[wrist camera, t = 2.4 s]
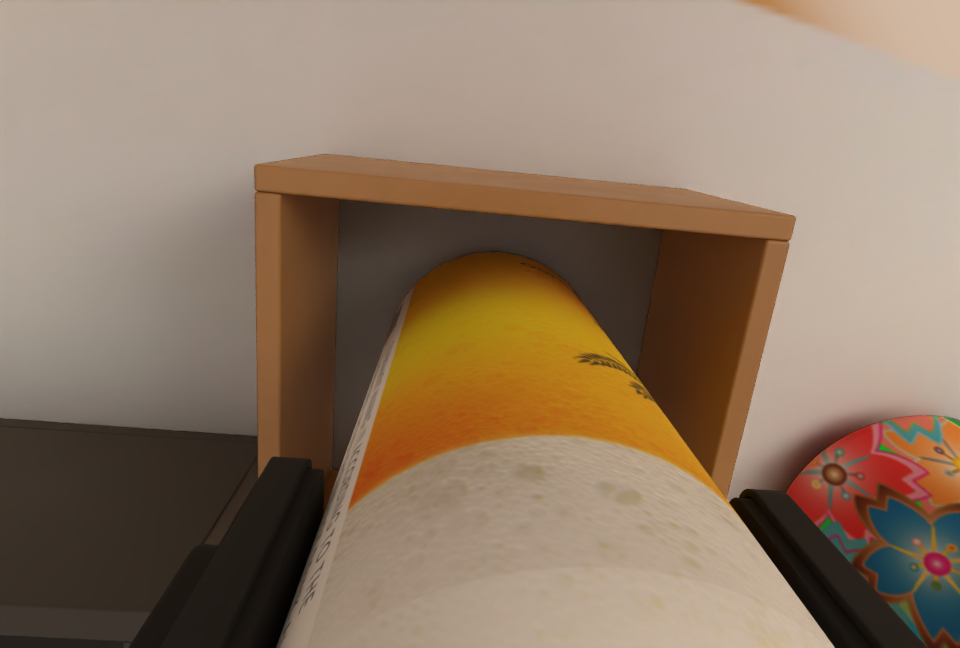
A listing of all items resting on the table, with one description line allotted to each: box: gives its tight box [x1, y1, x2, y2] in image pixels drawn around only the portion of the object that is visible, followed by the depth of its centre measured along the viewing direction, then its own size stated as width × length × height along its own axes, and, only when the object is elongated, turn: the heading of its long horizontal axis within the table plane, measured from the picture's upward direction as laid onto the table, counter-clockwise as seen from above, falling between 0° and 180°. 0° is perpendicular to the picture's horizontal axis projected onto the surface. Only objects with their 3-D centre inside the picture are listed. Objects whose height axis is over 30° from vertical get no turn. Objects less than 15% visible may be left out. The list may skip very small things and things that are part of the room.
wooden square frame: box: [254, 154, 796, 512], centre depth 16 cm, size 10×10×6 cm
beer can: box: [276, 252, 835, 648], centre depth 12 cm, size 6×6×15 cm
